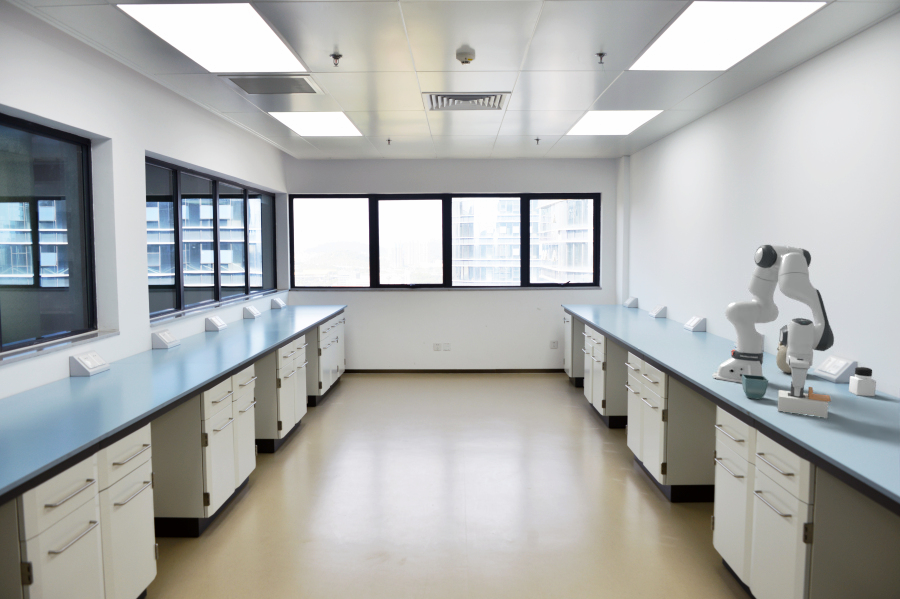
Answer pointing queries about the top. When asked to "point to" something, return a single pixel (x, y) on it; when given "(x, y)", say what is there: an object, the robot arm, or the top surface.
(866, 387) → the medicine bottle
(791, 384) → the plug
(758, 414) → the top surface
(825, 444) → the top surface
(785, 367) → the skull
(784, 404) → the socket
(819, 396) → the shutter
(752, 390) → the flower pot
